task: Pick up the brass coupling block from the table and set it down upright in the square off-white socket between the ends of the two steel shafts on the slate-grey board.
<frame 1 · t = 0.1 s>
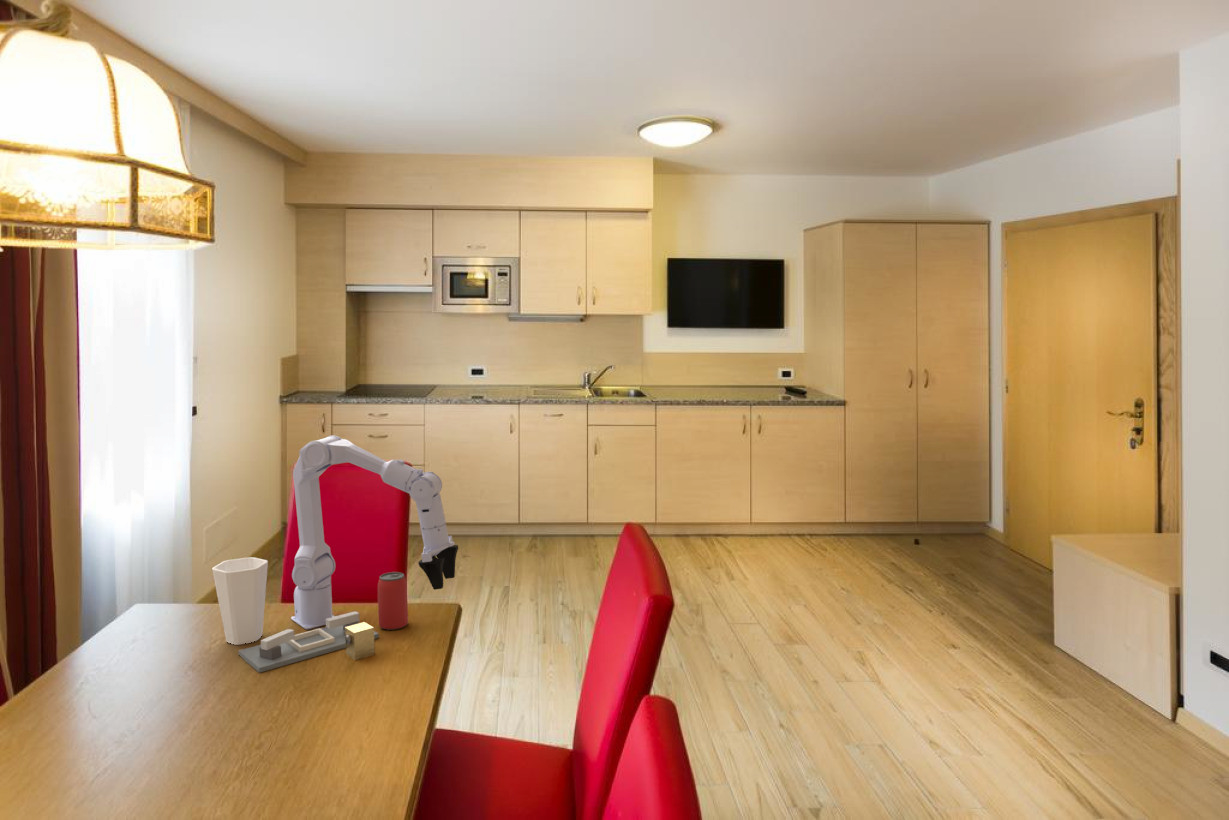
hand: (444, 583, 184), 11 cm above the table, tool pointing down, fingers open, 7 cm apart
shaft board: (310, 646, 175), on the table
beer can: (393, 626, 187), on the table
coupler: (360, 654, 171), on the table
cup: (244, 639, 179), on the table
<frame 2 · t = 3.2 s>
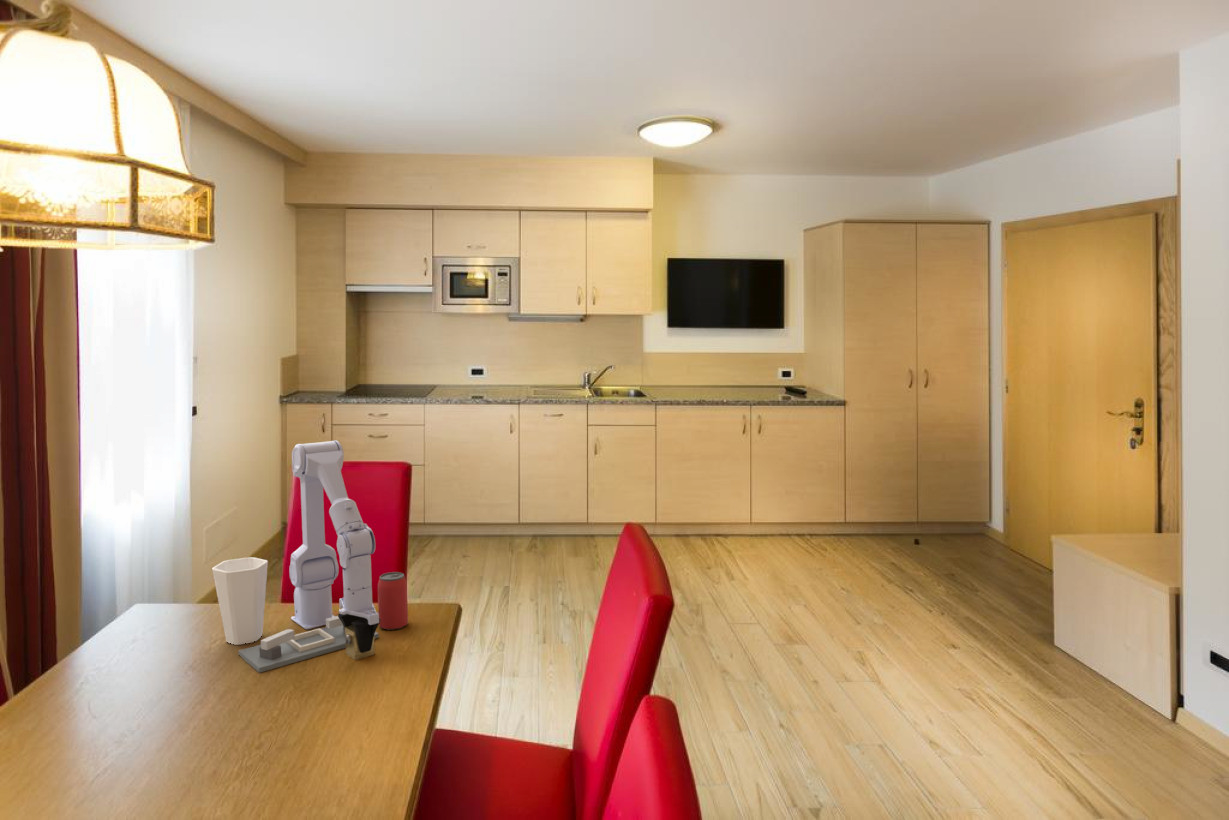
hand: (360, 647, 170), 1 cm above the table, tool pointing down, fingers closed on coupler, 4 cm apart
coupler: (360, 654, 171), on the table, touching gripper
everything else where it was.
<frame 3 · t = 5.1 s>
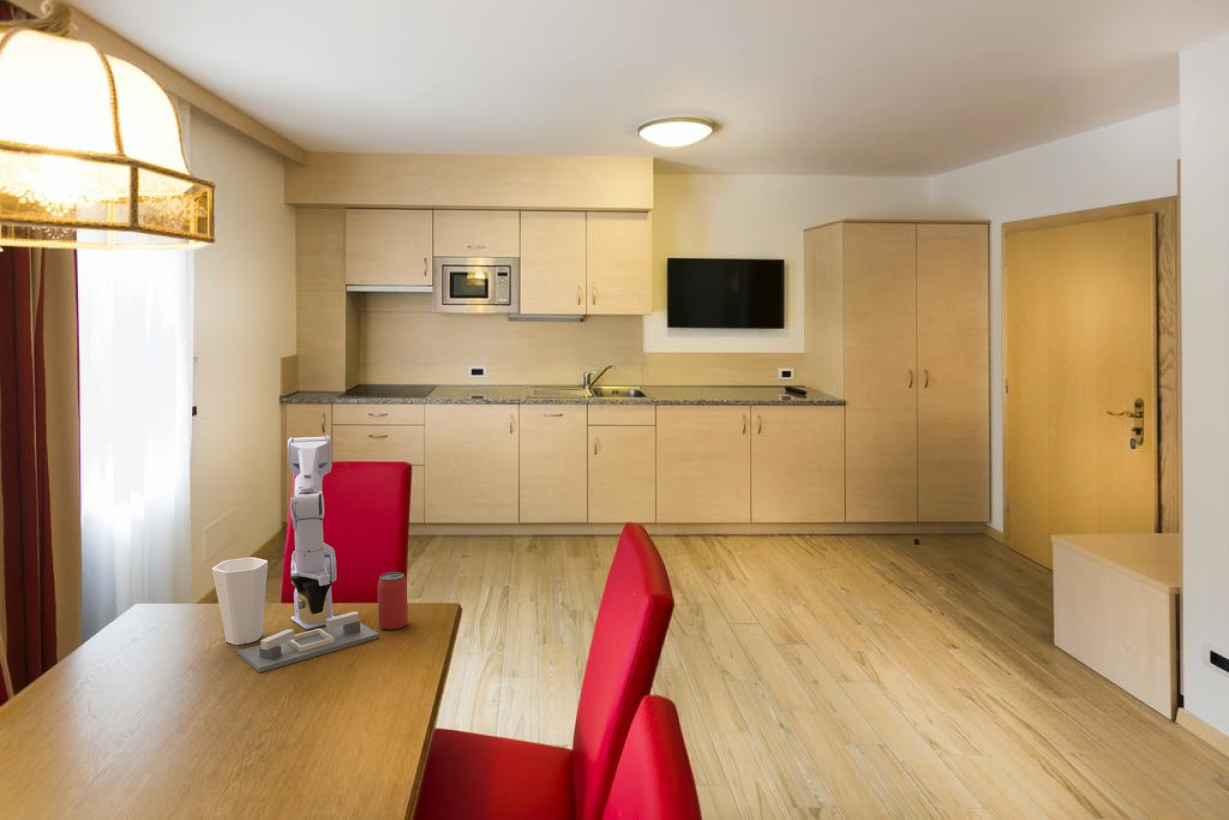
hand: (312, 609, 174), 8 cm above the table, tool pointing down, fingers closed on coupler, 4 cm apart
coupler: (313, 619, 174), point 6 cm above the table, touching gripper
everything else where it was.
when the fingers open (4 cm above the table, at t = 6.9 s): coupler stays where it is, resting on shaft board.
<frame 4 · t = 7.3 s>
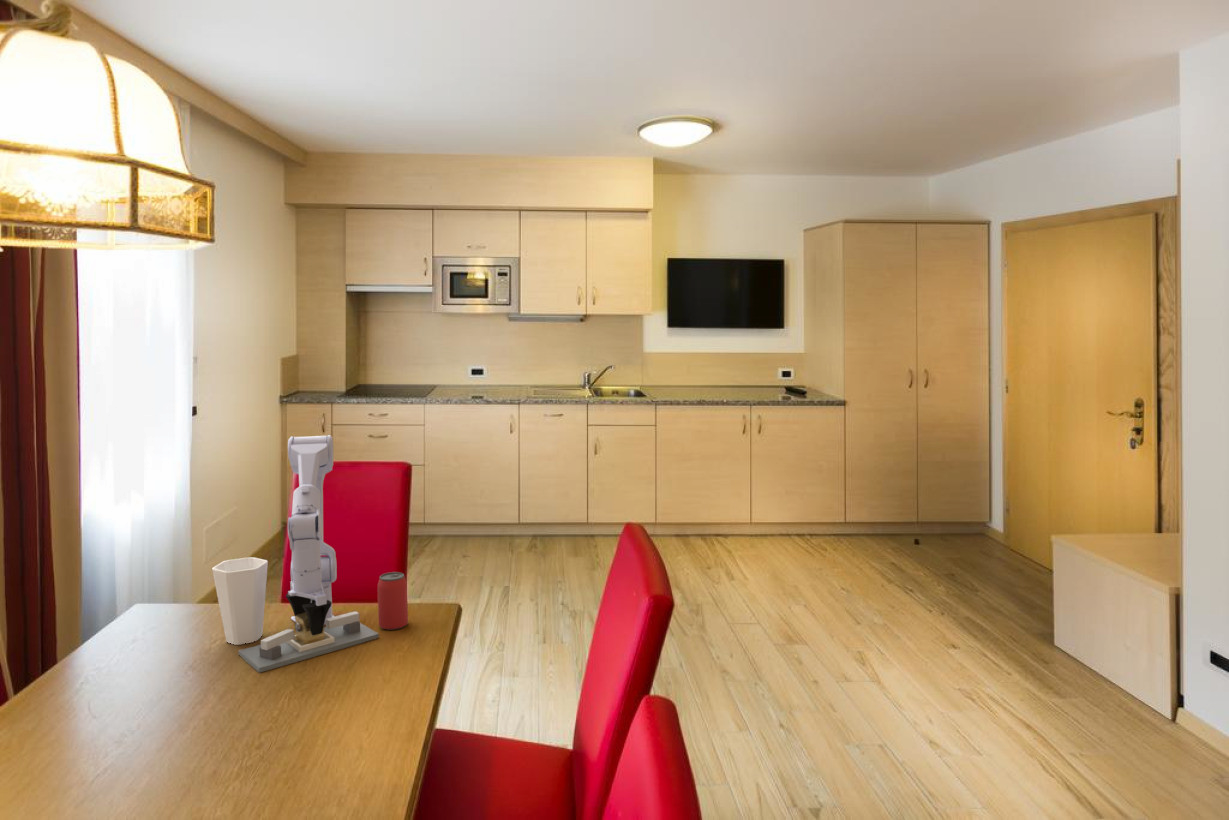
hand: (309, 629, 174), 4 cm above the table, tool pointing down, fingers open, 7 cm apart
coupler: (310, 641, 175), point 1 cm above the table, touching shaft board
everything else where it was.
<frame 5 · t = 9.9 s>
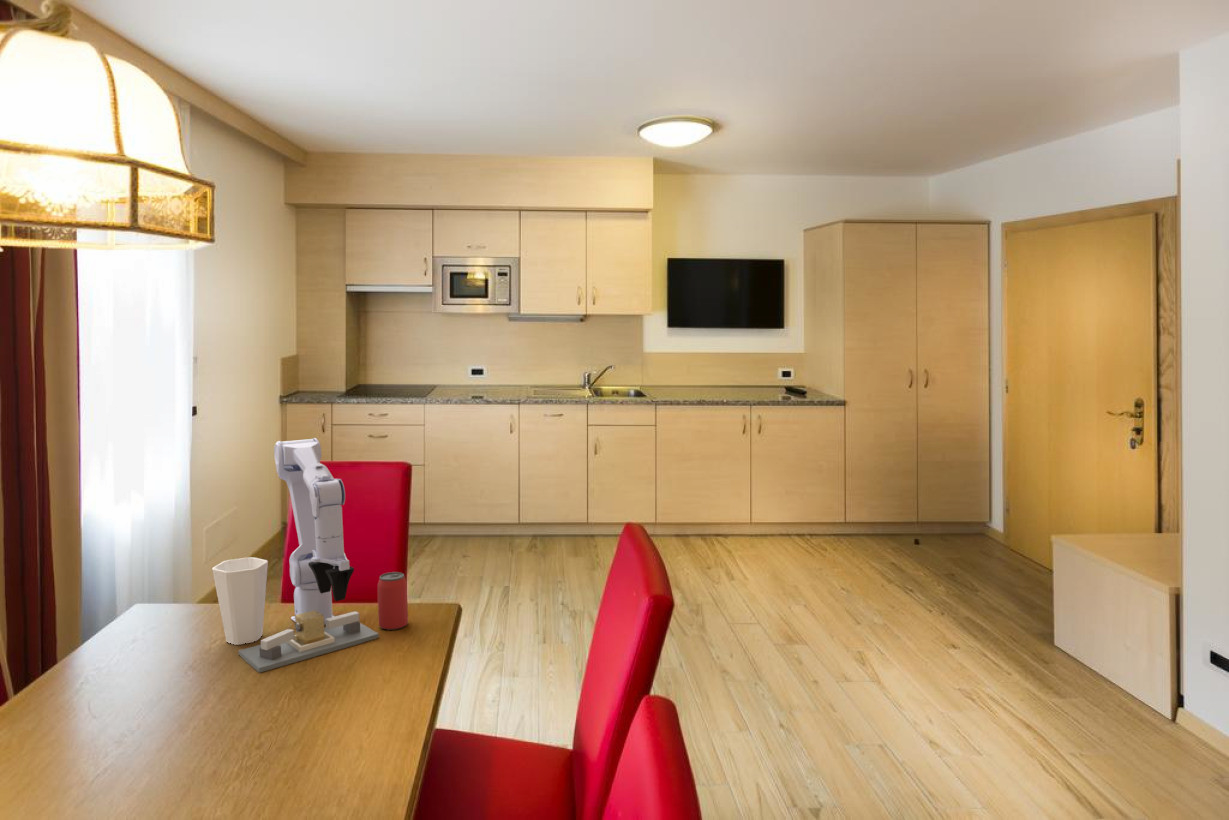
hand: (332, 596, 176), 10 cm above the table, tool pointing down, fingers open, 7 cm apart
nothing on the table moved.
at the end: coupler 0.1 cm off-centre on the shaft board, point 1.0 cm above the shaft board's base; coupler tilted 0°; the gripper is holding nothing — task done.
